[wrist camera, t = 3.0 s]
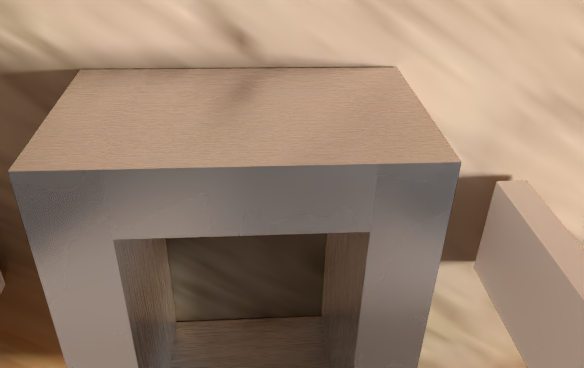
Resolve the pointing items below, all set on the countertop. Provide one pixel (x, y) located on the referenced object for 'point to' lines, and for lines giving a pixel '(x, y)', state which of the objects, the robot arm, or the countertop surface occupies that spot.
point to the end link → (236, 210)
